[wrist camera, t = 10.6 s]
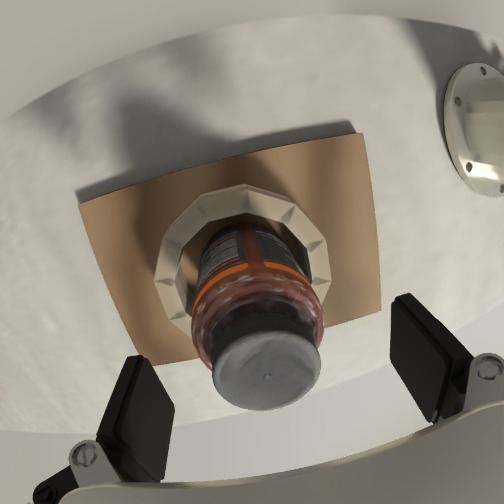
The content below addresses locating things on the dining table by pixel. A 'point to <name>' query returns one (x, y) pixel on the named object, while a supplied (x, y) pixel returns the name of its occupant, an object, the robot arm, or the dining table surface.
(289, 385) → the supplement bottle
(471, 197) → the dining table surface
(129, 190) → the socket board
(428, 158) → the dining table surface
